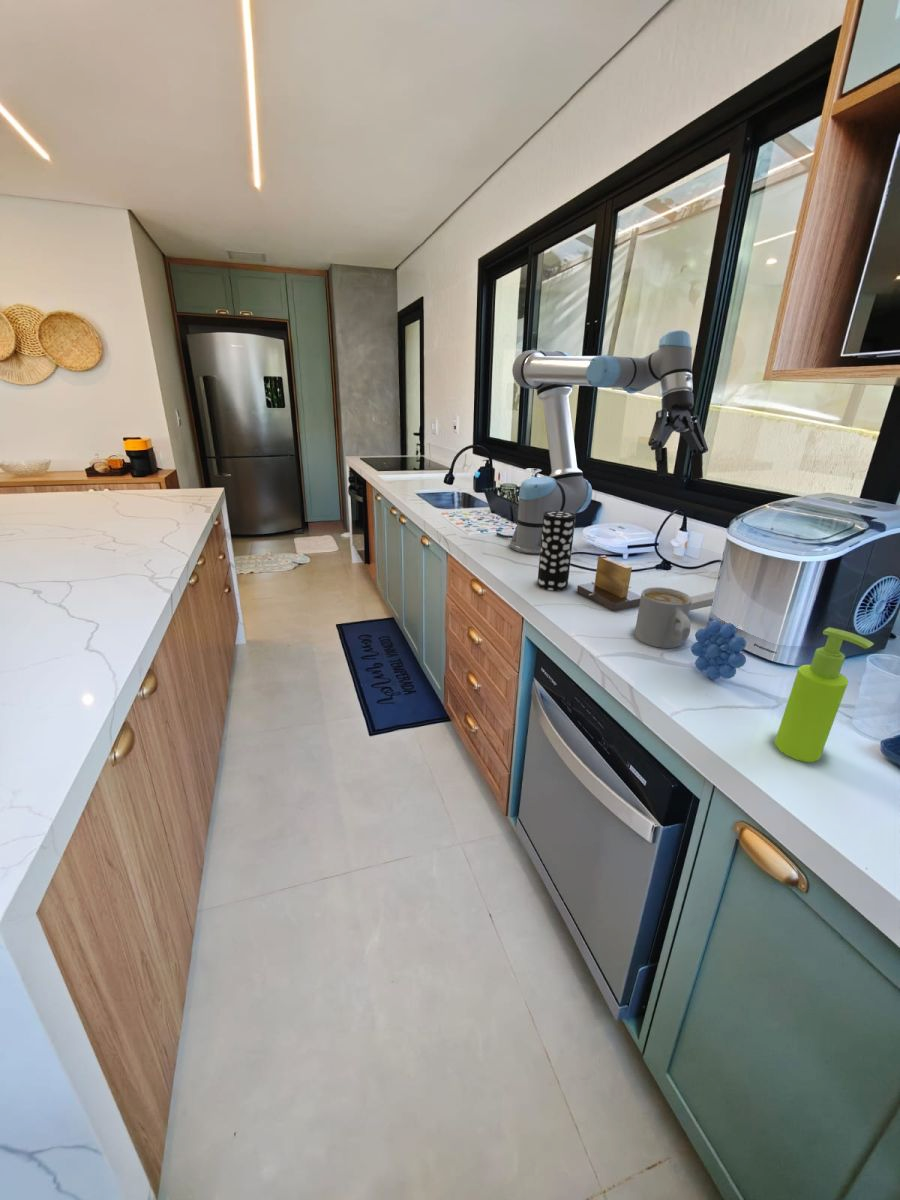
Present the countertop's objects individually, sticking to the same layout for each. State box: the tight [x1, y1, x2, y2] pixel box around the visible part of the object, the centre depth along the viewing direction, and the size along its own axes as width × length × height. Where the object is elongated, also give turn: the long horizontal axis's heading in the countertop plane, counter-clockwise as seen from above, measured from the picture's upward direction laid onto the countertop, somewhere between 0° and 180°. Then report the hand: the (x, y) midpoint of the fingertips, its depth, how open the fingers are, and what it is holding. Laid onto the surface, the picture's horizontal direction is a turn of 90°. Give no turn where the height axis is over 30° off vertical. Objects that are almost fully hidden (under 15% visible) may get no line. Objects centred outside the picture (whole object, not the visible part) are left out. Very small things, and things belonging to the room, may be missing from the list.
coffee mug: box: [633, 586, 692, 649], centre depth 108 cm, size 13×10×10 cm
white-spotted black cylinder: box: [536, 511, 577, 592], centre depth 136 cm, size 8×8×20 cm
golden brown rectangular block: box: [594, 554, 633, 598], centre depth 130 cm, size 10×2×8 cm, turn 26°
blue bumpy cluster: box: [690, 619, 747, 680], centre depth 93 cm, size 12×7×12 cm, turn 17°
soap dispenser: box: [774, 626, 875, 763], centre depth 72 cm, size 6×7×20 cm
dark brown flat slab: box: [576, 581, 641, 612], centre depth 132 cm, size 14×14×2 cm
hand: (680, 477), depth 130 cm, fingers open, 13 cm apart
